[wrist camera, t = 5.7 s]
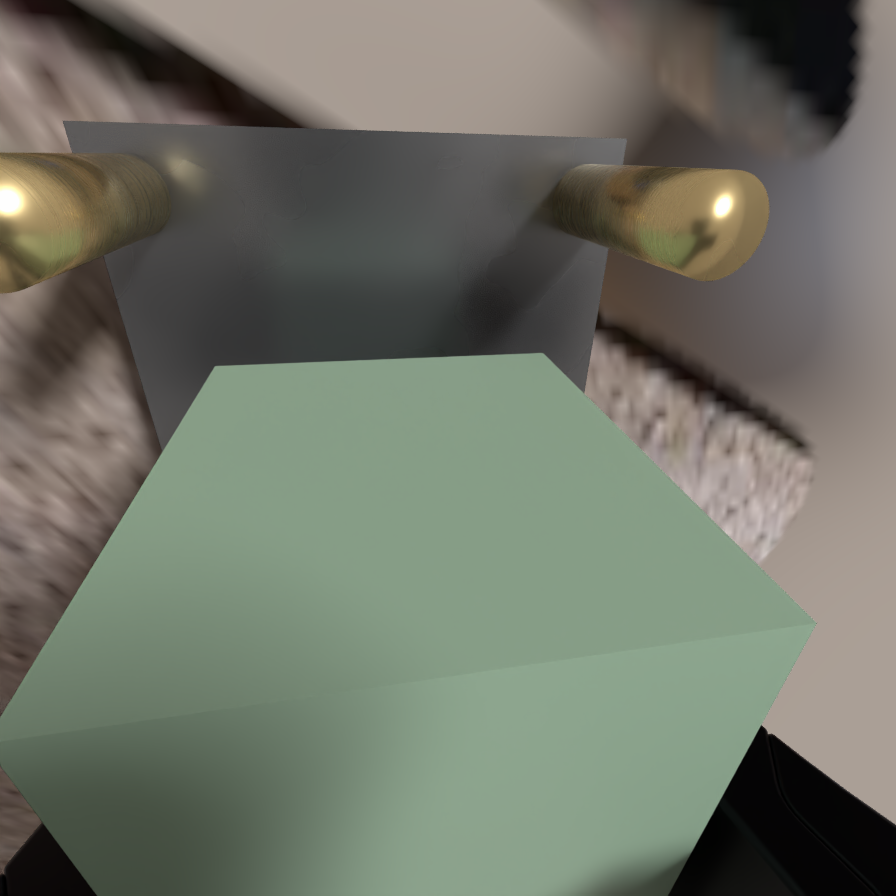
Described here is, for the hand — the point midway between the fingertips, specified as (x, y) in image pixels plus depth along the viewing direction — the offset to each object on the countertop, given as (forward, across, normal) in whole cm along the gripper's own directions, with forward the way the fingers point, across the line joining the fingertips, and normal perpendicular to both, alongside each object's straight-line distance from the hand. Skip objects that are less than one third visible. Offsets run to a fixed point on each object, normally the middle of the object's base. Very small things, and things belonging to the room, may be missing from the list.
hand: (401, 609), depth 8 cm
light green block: (+1, 0, 0) cm, 1 cm away
